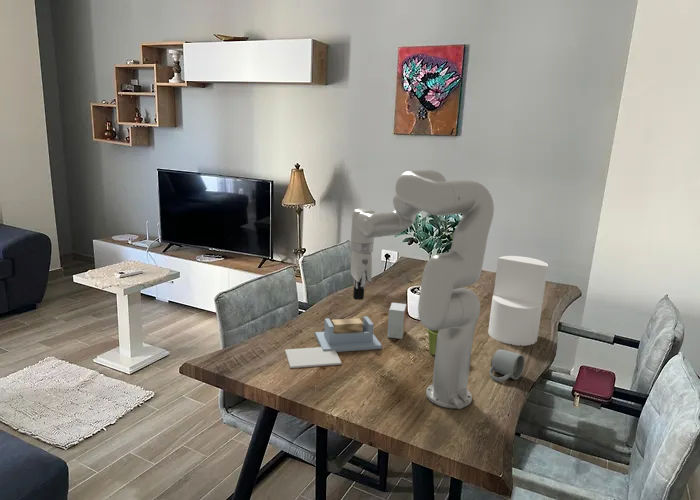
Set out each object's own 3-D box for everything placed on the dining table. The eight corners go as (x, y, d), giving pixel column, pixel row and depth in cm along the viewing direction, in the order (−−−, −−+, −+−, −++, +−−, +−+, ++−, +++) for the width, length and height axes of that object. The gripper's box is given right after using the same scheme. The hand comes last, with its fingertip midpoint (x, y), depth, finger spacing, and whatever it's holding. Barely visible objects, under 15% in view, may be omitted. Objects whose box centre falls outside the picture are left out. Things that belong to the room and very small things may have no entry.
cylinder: (495, 322, 200) (504, 253, 193) (541, 333, 192) (552, 261, 185) (482, 337, 185) (491, 262, 179) (531, 349, 177) (542, 272, 170)
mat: (341, 364, 160) (341, 362, 159) (290, 368, 156) (290, 366, 155) (333, 347, 171) (333, 346, 171) (285, 351, 167) (285, 349, 167)
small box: (402, 339, 180) (404, 311, 178) (386, 337, 181) (388, 309, 179) (404, 330, 188) (407, 303, 185) (389, 329, 189) (391, 302, 186)
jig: (369, 332, 185) (370, 312, 183) (381, 348, 172) (383, 327, 170) (315, 335, 180) (315, 315, 178) (323, 352, 167) (323, 331, 165)
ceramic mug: (499, 365, 164) (501, 343, 162) (523, 374, 159) (526, 352, 157) (482, 376, 157) (485, 353, 155) (507, 387, 151) (510, 363, 149)
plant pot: (431, 360, 165) (433, 335, 163) (420, 348, 174) (422, 324, 172) (457, 358, 168) (460, 333, 166) (445, 346, 177) (447, 322, 175)
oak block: (359, 327, 178) (359, 318, 178) (362, 332, 174) (363, 323, 173) (330, 329, 176) (331, 319, 175) (333, 334, 172) (334, 324, 171)
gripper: (379, 252, 163) (375, 306, 168) (366, 240, 177) (362, 290, 182) (356, 252, 161) (353, 307, 166) (345, 240, 175) (342, 291, 180)
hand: (358, 298), depth 174 cm, fingers closed
